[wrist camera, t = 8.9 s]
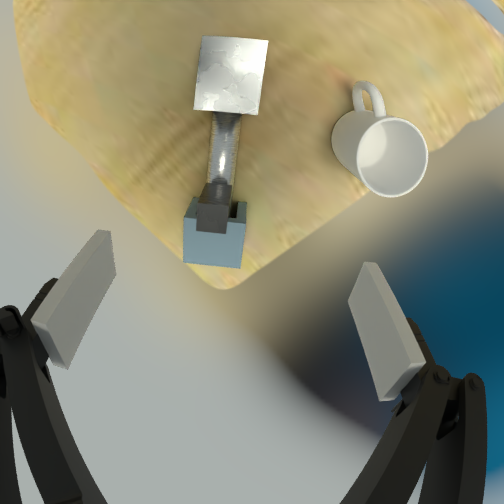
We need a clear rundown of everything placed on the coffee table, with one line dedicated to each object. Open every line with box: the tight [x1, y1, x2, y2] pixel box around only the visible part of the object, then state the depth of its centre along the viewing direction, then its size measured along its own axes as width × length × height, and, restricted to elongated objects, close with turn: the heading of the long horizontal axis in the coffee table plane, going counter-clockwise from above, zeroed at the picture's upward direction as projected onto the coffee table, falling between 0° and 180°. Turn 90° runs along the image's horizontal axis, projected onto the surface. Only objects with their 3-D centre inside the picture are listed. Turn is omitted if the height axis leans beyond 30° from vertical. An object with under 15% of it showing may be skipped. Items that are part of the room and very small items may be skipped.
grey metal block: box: [194, 36, 268, 115], centre depth 27 cm, size 8×6×6 cm
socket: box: [183, 197, 247, 268], centre depth 37 cm, size 6×7×6 cm
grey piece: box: [196, 111, 242, 234], centre depth 31 cm, size 15×3×9 cm, turn 173°
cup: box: [331, 81, 428, 197], centre depth 29 cm, size 8×12×10 cm
